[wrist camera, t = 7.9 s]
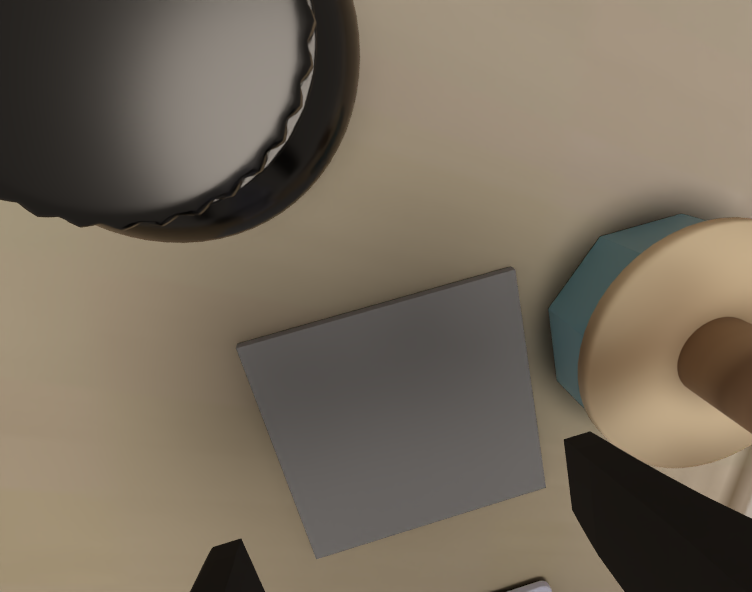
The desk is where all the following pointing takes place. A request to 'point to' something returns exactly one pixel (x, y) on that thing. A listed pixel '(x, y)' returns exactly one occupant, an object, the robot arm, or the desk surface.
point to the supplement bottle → (172, 110)
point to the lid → (675, 349)
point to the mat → (401, 410)
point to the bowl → (598, 289)
